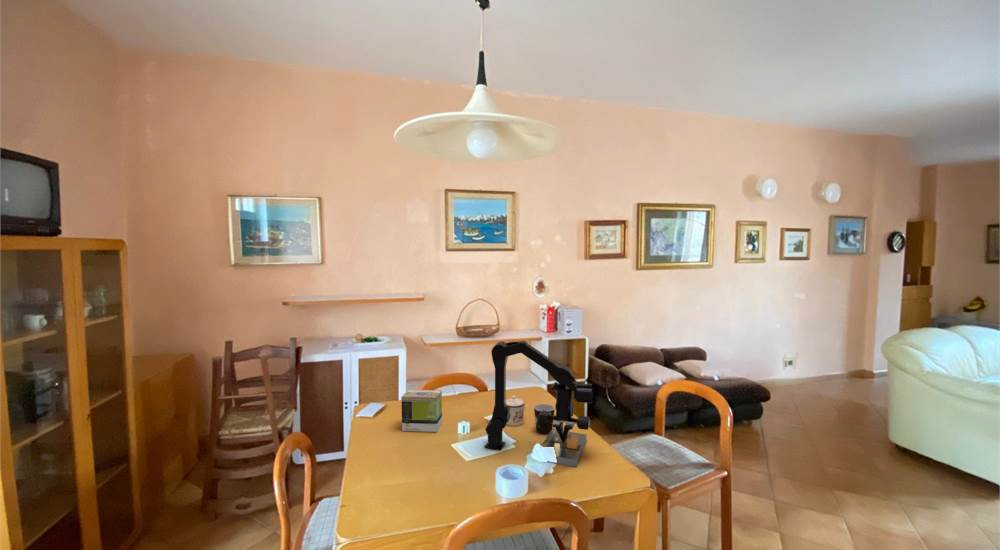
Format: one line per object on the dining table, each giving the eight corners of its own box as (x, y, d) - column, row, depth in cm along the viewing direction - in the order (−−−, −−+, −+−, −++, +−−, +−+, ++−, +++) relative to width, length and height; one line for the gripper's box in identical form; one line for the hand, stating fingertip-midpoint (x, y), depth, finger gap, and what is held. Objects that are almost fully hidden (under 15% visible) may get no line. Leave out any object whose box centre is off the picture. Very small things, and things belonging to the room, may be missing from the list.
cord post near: (559, 457, 145) (559, 445, 145) (553, 456, 146) (553, 445, 146) (560, 454, 147) (560, 443, 147) (554, 453, 148) (555, 442, 148)
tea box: (442, 423, 180) (442, 389, 180) (436, 433, 170) (436, 397, 170) (408, 421, 182) (408, 388, 181) (401, 431, 172) (400, 396, 171)
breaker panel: (576, 467, 143) (576, 459, 143) (537, 460, 148) (537, 452, 148) (586, 440, 164) (586, 434, 164) (551, 435, 169) (551, 428, 169)
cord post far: (568, 437, 161) (568, 427, 161) (563, 436, 162) (563, 426, 162) (569, 435, 163) (569, 425, 163) (564, 434, 164) (564, 424, 163)
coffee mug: (553, 436, 167) (554, 412, 167) (532, 434, 169) (532, 410, 168) (555, 425, 179) (556, 402, 178) (535, 423, 180) (535, 400, 180)
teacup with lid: (515, 428, 175) (515, 401, 174) (498, 422, 181) (499, 396, 180) (532, 420, 184) (532, 394, 183) (516, 414, 190) (516, 389, 189)
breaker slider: (576, 449, 151) (576, 439, 151) (566, 447, 152) (567, 437, 152) (578, 444, 154) (578, 435, 154) (568, 443, 155) (568, 433, 155)
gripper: (592, 397, 158) (592, 437, 158) (544, 391, 164) (544, 430, 165) (588, 407, 147) (587, 450, 148) (537, 400, 154) (536, 441, 155)
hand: (563, 442), depth 154 cm, fingers closed
